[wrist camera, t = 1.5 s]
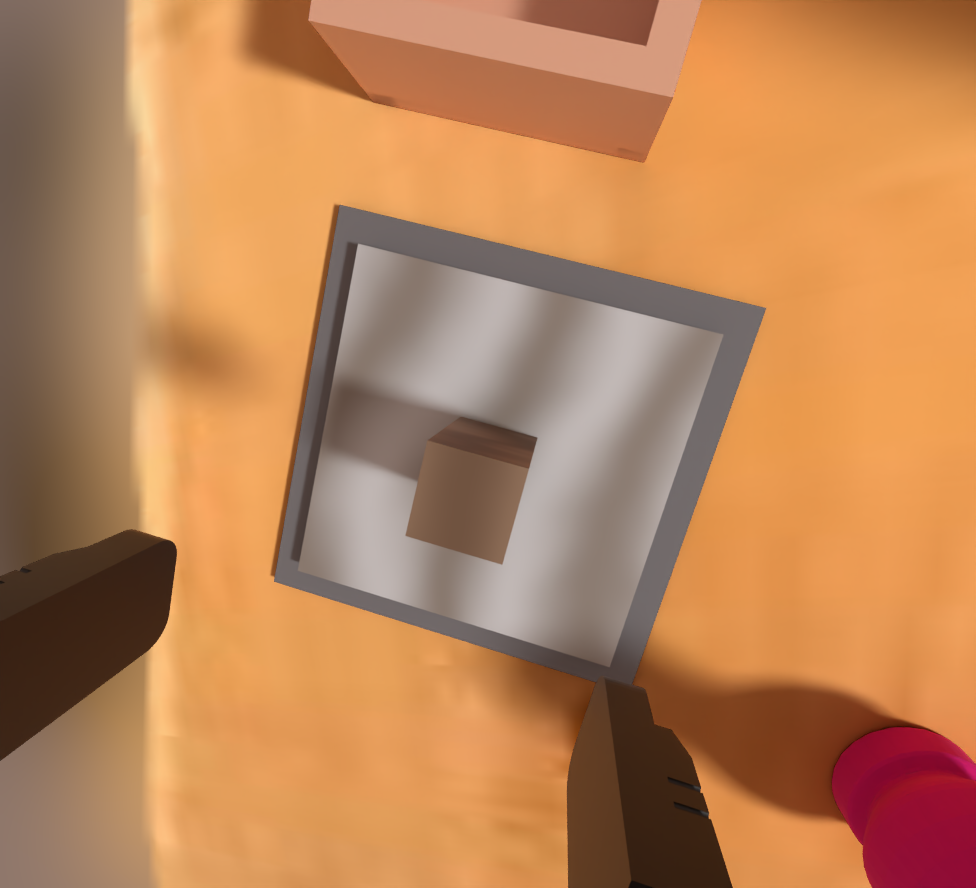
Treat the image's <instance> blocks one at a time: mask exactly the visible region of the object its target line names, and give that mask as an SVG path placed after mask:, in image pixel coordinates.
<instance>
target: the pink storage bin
mask: <svg viewBox="0 0 976 888" xmlns="http://www.w3.org/2000/svg"><path fill="white" fill-rule="evenodd" d="M700 4H701V0H311V6H310V12H309V19H308V21H309V22H310V23H311V24H312V26H313V27H314V28H315V30H316V31H317V32H318V33H319V35H320V36H321V37H322V38H323V40H324V41H325V42H326V43H327V45H328V46H329V47H330V48H331V50H332V51H333V52H334V53H335V55H336V56H337V57H338V58H339V60H340V61H341V62H342V64H343V65H344V66H345V67H346V69H347V70H348V71H349V72H350V74H351V75H352V76H353V77H354V79H355V80H356V81H357V82H358V84H359V85H360V86H361V87H362V89H363V90H364V91H365V92H366V94H367V95H368V96H369V97H370V99H371V100H372V101H373V102H375V103H380V104H384V105H389V106H393V107H398V108H402V109H407V110H411V111H416V112H420V113H425V114H429V115H434V116H438V117H443V118H447V119H451V120H456V121H460V122H465V123H469V124H474V125H478V126H483V127H487V128H492V129H496V130H501V131H505V132H510V133H514V134H519V135H523V136H528V137H532V138H537V139H541V140H546V141H550V142H555V143H559V144H564V145H568V146H572V147H577V148H581V149H586V150H590V151H595V152H599V153H604V154H608V155H613V156H617V157H622V158H626V159H631V160H635V161H640V162H645V159H646V157H647V155H648V153H649V150H650V148H651V146H652V144H653V141H654V139H655V137H656V135H657V132H658V130H659V128H660V126H661V123H662V121H663V119H664V117H665V114H666V112H667V110H668V108H669V105H670V103H671V101H672V99H673V96H674V92H675V89H676V86H677V82H678V79H679V75H680V72H681V69H682V65H683V62H684V58H685V55H686V51H687V48H688V45H689V41H690V38H691V34H692V31H693V28H694V24H695V21H696V17H697V14H698V11H699V7H700Z"/></svg>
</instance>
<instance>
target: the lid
mask: <svg viewBox="0 0 976 888" xmlns="http://www.w3.org/2000/svg"><path fill="white" fill-rule="evenodd" d="M722 338H723V334H719V333H715V332H711V331H707V330H703V329H699V328H695V327H691V326H687V325H683V324H679V323H675V322H671V321H667V320H663V319H659V318H655V317H651V316H647V315H643V314H639V313H635V312H631V311H627V310H623V309H619V308H615V307H611V306H607V305H603V304H599V303H595V302H591V301H587V300H583V299H579V298H575V297H570V296H566V295H562V294H558V293H554V292H550V291H546V290H542V289H538V288H534V287H530V286H526V285H522V284H518V283H514V282H510V281H506V280H502V279H498V278H494V277H490V276H486V275H482V274H478V273H474V272H470V271H466V270H462V269H458V268H454V267H450V266H446V265H442V264H438V263H434V262H430V261H426V260H422V259H418V258H414V257H410V256H406V255H402V254H398V253H394V252H390V251H386V250H382V249H378V248H374V247H369V246H365V245H361V244H358V247H357V252H356V258H355V263H354V269H353V274H352V279H351V285H350V290H349V296H348V301H347V306H346V312H345V317H344V323H343V328H342V334H341V339H340V344H339V350H338V355H337V361H336V366H335V372H334V377H333V382H332V388H331V393H330V399H329V404H328V409H327V415H326V420H325V426H324V431H323V437H322V442H321V447H320V453H319V458H318V464H317V469H316V475H315V480H314V485H313V491H312V496H311V502H310V507H309V512H308V518H307V523H306V529H305V534H304V540H303V545H302V550H301V556H300V561H299V567H298V571H300V572H304V573H307V574H310V575H313V576H317V577H320V578H323V579H326V580H330V581H333V582H336V583H339V584H342V585H346V586H349V587H352V588H355V589H359V590H362V591H365V592H368V593H371V594H375V595H378V596H381V597H384V598H388V599H391V600H394V601H397V602H401V603H404V604H407V605H410V606H413V607H417V608H420V609H423V610H426V611H430V612H433V613H436V614H439V615H442V616H446V617H449V618H452V619H455V620H459V621H462V622H465V623H468V624H472V625H475V626H478V627H481V628H484V629H488V630H491V631H494V632H497V633H501V634H504V635H507V636H510V637H514V638H517V639H520V640H523V641H526V642H530V643H533V644H536V645H539V646H543V647H546V648H549V649H552V650H555V651H559V652H562V653H565V654H568V655H572V656H575V657H578V658H581V659H585V660H588V661H591V662H594V663H597V664H601V665H604V666H607V667H610V665H611V662H612V659H613V656H614V653H615V650H616V647H617V644H618V641H619V638H620V635H621V632H622V630H623V627H624V624H625V621H626V618H627V615H628V612H629V609H630V606H631V603H632V600H633V597H634V595H635V592H636V589H637V586H638V583H639V580H640V577H641V574H642V571H643V568H644V565H645V562H646V560H647V557H648V554H649V551H650V548H651V545H652V542H653V539H654V536H655V533H656V530H657V527H658V525H659V522H660V519H661V516H662V513H663V510H664V507H665V504H666V501H667V498H668V495H669V492H670V490H671V487H672V484H673V481H674V478H675V475H676V472H677V469H678V466H679V463H680V460H681V457H682V455H683V452H684V449H685V446H686V443H687V440H688V437H689V434H690V431H691V428H692V425H693V422H694V420H695V417H696V414H697V411H698V408H699V405H700V402H701V399H702V396H703V393H704V390H705V387H706V385H707V382H708V379H709V376H710V373H711V370H712V367H713V364H714V361H715V358H716V355H717V352H718V350H719V347H720V344H721V341H722Z"/></svg>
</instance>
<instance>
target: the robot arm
mask: <svg viewBox="0 0 976 888" xmlns="http://www.w3.org/2000/svg"><path fill="white" fill-rule="evenodd" d="M176 557H177V549H176V546H175V544H174V543H173V542H172V541H169V540H166V539H163V538H160V537H156V536H153V535H150V534H147V533H144V532H140V531H137V530H132V529H131V530H126V531H123V532H121V533H119V534H116V535H114V536H112V537H109V538H107V539H105V540H102V541H100V542H98V543H95V544H93V545H91V546H88V547H85V548H80V549H75V550H71V551H66V552H61V553H56V554H53V555H50V556H48V557H45V558H43V559H41V560H38V561H36V562H33V563H31V564H29V565H26V566H24V567H22V568H21V570H20V571H17V570H14V571H12V572H9V573H7V574H5V575H2V576H0V761H1V760H2V759H3V758H5V757H6V756H7V755H9V754H10V753H11V752H12V751H14V750H15V749H17V748H18V747H19V746H21V745H22V744H24V743H25V742H26V741H27V740H29V739H30V738H32V737H33V736H34V735H36V734H37V733H38V732H40V731H41V730H42V729H43V728H45V727H46V726H48V725H49V724H50V723H52V722H53V721H54V720H56V719H57V718H58V717H60V716H61V715H62V714H64V713H65V712H66V711H68V710H69V709H70V708H72V707H73V706H74V705H76V704H77V703H78V702H80V701H81V700H82V699H83V698H85V697H87V696H88V695H89V694H91V693H92V692H93V691H95V690H96V689H97V688H98V687H100V686H101V685H102V684H104V683H105V682H106V681H108V680H109V679H111V678H112V677H113V676H115V675H116V674H117V673H119V672H120V671H121V670H123V669H124V668H125V667H127V666H128V665H129V664H131V663H132V662H133V661H135V660H136V659H137V658H139V657H140V656H141V655H143V654H144V653H145V652H147V651H148V650H149V649H150V648H151V647H152V646H153V645H154V644H155V643H156V642H157V640H158V639H159V637H160V636H161V634H162V632H163V630H164V628H165V626H166V624H167V621H168V617H169V610H170V603H171V595H172V588H173V580H174V572H175V565H176ZM700 789H701V786H700V783H699V780H698V777H697V773H696V770H695V767H694V764H693V761H692V758H691V756H690V755H689V754H688V752H687V751H686V749H685V748H684V747H683V745H682V744H681V743H680V741H679V740H678V738H677V737H676V736H675V734H674V733H673V731H672V730H670V729H667V728H664V727H661V726H658V725H655V724H654V721H653V717H652V713H651V709H650V705H649V701H648V697H647V693H646V691H645V689H644V688H641V687H638V686H635V685H631V684H628V683H625V682H622V681H619V680H615V679H612V678H609V677H606V676H600V677H599V678H598V680H597V682H596V684H595V687H594V690H593V693H592V696H591V699H590V702H589V705H588V708H587V711H586V714H585V716H584V719H583V722H582V725H581V728H580V731H579V734H578V737H577V740H576V743H575V746H574V749H573V753H572V757H571V761H570V766H569V772H568V781H567V830H568V888H733V887H732V884H731V881H730V878H729V875H728V871H727V868H726V865H725V862H724V859H723V856H722V853H721V849H720V846H719V843H718V840H717V837H716V834H715V830H714V827H713V824H712V821H711V819H709V818H708V815H709V811H708V808H707V805H706V802H705V799H704V796H703V793H700Z"/></svg>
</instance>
